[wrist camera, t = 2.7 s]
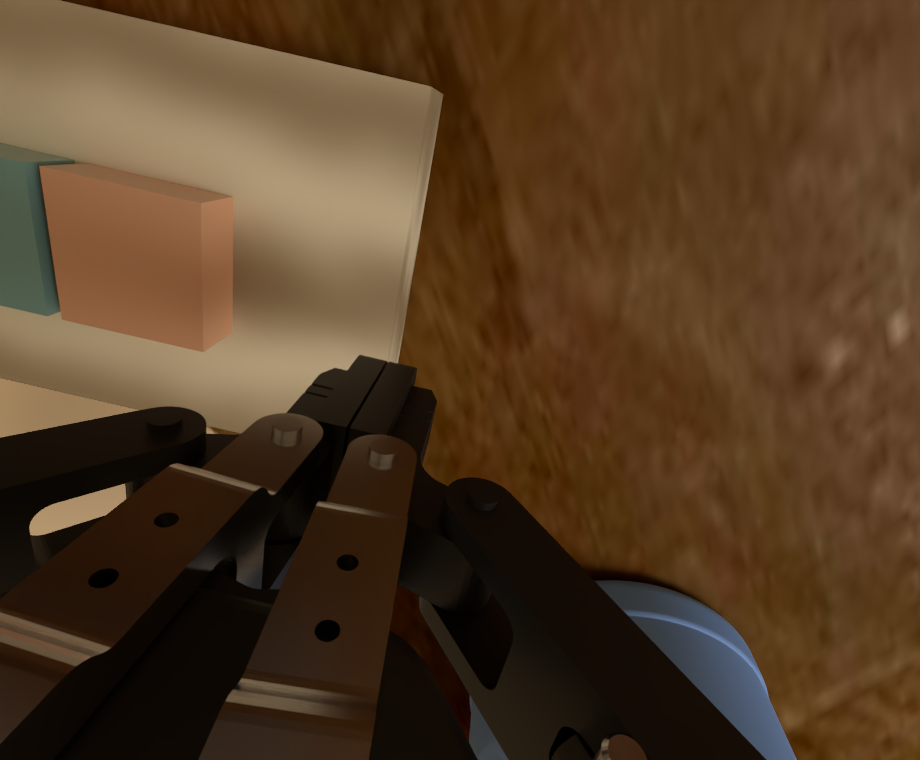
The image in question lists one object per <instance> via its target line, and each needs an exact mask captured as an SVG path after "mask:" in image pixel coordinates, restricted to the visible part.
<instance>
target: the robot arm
mask: <svg viewBox="0 0 920 760" xmlns="http://www.w3.org/2000/svg"><path fill="white" fill-rule="evenodd" d="M416 372H417V368H415V367H411V366H406V365H402V364H398V363H394V362H388V361H385V360H381V359H376V358H372V357H368V356H364V355H359V356H358V357H357V358H356V360H355V361H354V362H353V364H352V365H351V366H350V367H349V369H348V370H343V369H338V368H333V369H331V370H328V371H326V372H323V373H321V374H319V376H318V377H317V378H316V379H315V380H314V381H313V383H312V385H310V386H309V387H308V388H307V389H306V391H305V393H303V394H302V395H301V396H300V398H299V399H298V400H297V401H296V402H295V403H294V404H293V406H292V407H291V408H290V409H289V410H288V411H287V412H286V413H278V414H272V415H267V416H265V417H262V418H260V419H258V420H257V421H255V422H254V423H253V424H252V425H251V426H250V427H248V428H247V429H246V430H245V431H244V432H243V433H241V434H240V435H226V434H206V420H205V418H204V417H203V416H202V415H201V414H199V413H198V412H196V411H193V410H191V409H187V408H182V407H173V406H164V407H155V408H149V409H144V410H139V411H134V412H129V413H124V414H119V415H114V416H109V417H104V418H98V419H94V420H88V421H83V422H79V423H73V424H68V425H63V426H58V427H53V428H48V429H43V430H37V431H32V432H27V433H23V434H17V435H12V436H7V437H2V438H0V760H478V759H477V757H476V755H475V753H474V751H473V749H472V747H471V745H470V743H469V741H468V740H467V738H466V736H465V734H464V732H463V730H462V728H461V726H460V724H459V722H458V720H457V718H456V716H455V714H454V712H453V710H452V708H451V706H450V705H449V703H448V701H447V699H446V697H445V695H444V693H443V691H442V689H441V687H440V685H439V683H438V681H437V680H436V678H435V676H434V674H433V673H432V672H431V670H430V669H429V667H428V666H427V664H426V663H425V662H424V660H423V659H422V658H421V657H420V656H419V655H418V653H417V652H416V651H415V650H414V649H413V648H412V647H411V646H410V645H409V644H407V643H406V642H405V641H404V640H403V639H402V638H400V637H399V636H397V635H396V634H395V633H393V632H392V631H390V630H389V629H390V623H391V617H392V611H393V605H394V600H395V594H396V588H397V584H399V585H401V586H402V587H404V588H406V589H408V590H409V591H411V592H413V593H415V594H416V595H418V596H420V597H419V608H420V612H421V614H422V616H423V617H424V619H425V621H426V623H427V624H428V626H429V628H430V629H431V631H432V633H433V634H434V636H435V638H436V639H437V641H438V643H439V644H440V646H441V648H442V649H443V651H444V653H445V654H446V656H447V658H448V659H449V661H450V663H451V664H452V666H453V668H454V669H455V671H456V673H457V674H458V676H459V678H460V679H461V681H462V683H463V684H464V686H465V688H466V689H467V691H468V693H469V694H470V696H471V698H472V699H473V701H474V703H475V705H476V706H477V708H478V710H479V711H480V713H481V715H482V716H483V718H484V720H485V721H486V723H487V725H488V726H489V728H490V730H491V731H492V733H493V735H494V736H495V738H496V740H497V741H498V743H499V745H500V746H501V748H502V750H503V751H504V753H505V755H506V756H507V758H508V760H766V759H765V758H764V757H763V756H762V755H761V753H760V752H759V751H758V750H757V749H756V748H755V747H754V746H753V745H752V744H751V743H750V742H749V741H748V740H747V739H746V738H745V737H744V736H743V735H742V734H741V733H740V732H739V731H738V730H737V729H736V727H735V726H734V725H733V724H732V723H731V722H730V721H729V720H728V719H727V718H726V717H725V716H724V715H723V714H722V713H721V712H720V711H719V710H718V709H717V708H716V707H715V706H714V705H713V704H712V703H711V701H710V700H709V699H708V698H707V697H706V696H705V695H704V694H703V693H702V692H701V691H700V690H699V689H698V688H697V687H696V686H695V685H694V684H693V683H692V682H691V681H690V680H689V679H688V678H687V677H686V675H685V674H684V673H683V672H682V671H681V670H680V669H679V668H678V667H677V666H676V665H675V664H674V663H673V662H672V661H671V660H670V659H669V658H668V657H667V656H666V655H665V654H664V653H663V652H662V651H661V649H660V648H659V647H658V646H657V645H656V644H655V643H654V642H653V641H652V640H651V639H650V638H649V637H648V636H647V635H646V634H645V633H644V632H643V631H642V630H641V629H640V628H639V627H638V626H637V625H636V623H635V622H634V621H633V620H632V619H631V618H630V617H629V616H628V615H627V614H626V613H625V612H624V611H623V610H622V609H621V608H620V607H619V606H618V605H617V604H616V603H615V602H614V601H613V600H612V599H611V597H610V596H609V595H608V594H607V593H606V592H605V591H604V590H603V589H602V588H601V587H600V586H599V585H598V584H597V583H596V582H595V581H594V580H593V579H592V578H591V577H590V576H589V575H588V574H587V573H586V571H585V570H584V569H583V568H582V567H581V566H580V565H579V564H578V563H577V562H576V561H575V560H574V559H573V558H572V557H571V556H570V555H569V554H568V553H567V552H566V551H565V550H564V549H563V548H562V547H561V545H560V544H559V543H558V542H557V541H556V540H555V539H554V538H553V537H552V536H551V535H550V534H549V533H548V532H547V531H546V530H545V529H544V528H543V527H542V526H541V525H540V524H539V523H538V522H537V521H536V519H535V518H534V517H533V516H532V515H531V514H530V513H529V512H528V511H527V510H526V509H525V508H524V507H523V506H522V505H521V504H520V503H519V502H518V501H517V500H516V499H515V498H514V497H513V496H512V495H511V493H509V492H508V491H507V490H506V489H505V488H503V487H502V486H500V485H498V484H496V483H494V482H492V481H489V480H486V479H481V478H462V479H458V480H456V481H454V482H452V483H451V484H450V485H449V486H446V485H444V484H442V483H440V482H438V481H436V480H435V479H434V478H432V477H431V476H430V475H429V474H428V473H427V472H426V471H425V470H424V468H423V467H422V463H423V460H424V456H425V453H426V449H427V444H428V440H429V435H430V431H431V426H432V422H433V417H434V413H435V408H436V403H437V400H436V398H435V396H434V394H433V392H432V390H428V389H424V388H420V387H415V386H414V384H415V379H416ZM121 484H125V486H126V498H127V499H126V500H125V501H124V502H122V503H121V504H120V505H118V506H117V507H116V508H115V509H113V510H112V511H111V512H110V513H108V514H107V515H106V516H102V517H99V518H96V519H93V520H90V521H86V522H83V523H80V524H77V525H74V526H71V527H68V528H64V529H61V530H58V531H55V532H52V533H48V534H45V535H40V536H32V535H30V532H29V525H30V522H31V520H32V518H33V517H34V516H35V515H36V514H37V513H38V512H39V511H40V510H42V509H43V508H45V507H47V506H49V505H51V504H54V503H57V502H61V501H65V500H68V499H72V498H75V497H79V496H82V495H86V494H89V493H93V492H96V491H100V490H103V489H107V488H110V487H114V486H117V485H121Z"/></svg>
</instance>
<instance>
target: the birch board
mask: <svg viewBox="0 0 920 760" xmlns="http://www.w3.org/2000/svg"><path fill="white" fill-rule="evenodd" d="M442 99H443V94H442V93H440V92H439V91H437V90H435V89H434V88H432V87H431V86H427V85H422V84H418V83H414V82H409V81H405V80H401V79H396V78H392V77H388V76H384V75H379V74H375V73H371V72H366V71H362V70H358V69H353V68H349V67H345V66H340V65H336V64H332V63H328V62H323V61H319V60H315V59H310V58H306V57H302V56H297V55H293V54H289V53H284V52H280V51H276V50H272V49H267V48H263V47H259V46H254V45H250V44H246V43H241V42H237V41H233V40H229V39H224V38H220V37H216V36H211V35H207V34H203V33H198V32H194V31H190V30H185V29H181V28H177V27H173V26H168V25H164V24H160V23H155V22H151V21H147V20H142V19H138V18H134V17H129V16H125V15H121V14H117V13H112V12H108V11H104V10H99V9H95V8H91V7H86V6H82V5H78V4H74V3H69V2H65V1H61V0H0V143H4V144H8V145H13V146H17V147H21V148H26V149H30V150H34V151H39V152H43V153H47V154H52V155H56V156H60V157H65V158H69V159H73V160H75V164H82V163H91V164H95V165H99V166H104V167H108V168H112V169H116V170H121V171H125V172H129V173H134V174H138V175H142V176H147V177H151V178H155V179H160V180H164V181H168V182H173V183H177V184H181V185H186V186H190V187H194V188H199V189H203V190H207V191H212V192H216V193H220V194H225V195H229V196H233V197H234V209H233V313H232V333H231V334H229V335H228V336H227V337H225V338H224V339H222V340H221V341H219V342H218V343H216V344H215V345H213V346H212V347H210V348H209V349H208V350H206V351H205V352H200V351H196V350H191V349H187V348H183V347H178V346H174V345H170V344H165V343H161V342H157V341H152V340H148V339H143V338H139V337H135V336H130V335H126V334H122V333H117V332H113V331H109V330H104V329H100V328H96V327H91V326H87V325H83V324H78V323H74V322H70V321H65V320H62V317H61V312H58V313H55V314H53V315H50V316H44V315H39V314H35V313H31V312H26V311H22V310H18V309H13V308H9V307H5V306H0V378H3V379H7V380H11V381H15V382H20V383H24V384H29V385H33V386H37V387H42V388H46V389H50V390H55V391H59V392H63V393H68V394H72V395H76V396H81V397H85V398H89V399H94V400H98V401H103V402H107V403H111V404H116V405H120V406H124V407H128V408H133V409H137V410H144V409H149V408H155V407H164V406H173V407H182V408H187V409H191V410H193V411H196V412H198V413H199V414H201V415H202V416H203V417H204V418H205V420H206V425H207V426H211V427H215V428H220V429H224V430H228V431H233V432H237V433H243V432H244V431H245V430H246V429H247V428H248V427H250V426H251V425H252V424H253V423H254V422H255V421H257V420H258V419H260V418H262V417H265V416H267V415H272V414H278V413H286V412H287V411H288V410H289V409H290V408H291V407H292V406H293V404H294V403H295V402H296V401H297V400H298V399H299V398H300V396H301V395H302V394H303V393H305V391H306V389H307V388H308V387H309V386H310V385H312V383H313V381H314V380H315V379H316V378H317V377H318V376H319V374H321V373H323V372H326V371H328V370H331V369H333V368H338V369H343V370H348V369H349V367H350V366H351V365H352V364H353V362H354V361H355V360H356V358H357V357H358V356H359V355H364V356H368V357H372V358H376V359H381V360H385V361H388V362H394V363H398V359H399V354H400V348H401V342H402V336H403V330H404V324H405V318H406V312H407V306H408V300H409V294H410V288H411V282H412V277H413V271H414V265H415V259H416V253H417V247H418V241H419V235H420V229H421V223H422V217H423V211H424V205H425V199H426V194H427V188H428V182H429V176H430V170H431V164H432V158H433V152H434V146H435V140H436V134H437V128H438V122H439V116H440V111H441V105H442Z"/></svg>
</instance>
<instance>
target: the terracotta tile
mask: <svg viewBox="0 0 920 760" xmlns="http://www.w3.org/2000/svg"><path fill="white" fill-rule="evenodd" d="M39 168H40V175H41V182H42V188H43V195H44V202H45V209H46V216H47V222H48V229H49V236H50V243H51V249H52V256H53V263H54V270H55V277H56V283H57V290H58V297H59V304H60V311H61V317H62V320H65V321H70V322H74V323H78V324H83V325H87V326H91V327H96V328H100V329H104V330H109V331H113V332H117V333H122V334H126V335H130V336H135V337H139V338H143V339H148V340H152V341H157V342H161V343H165V344H170V345H174V346H178V347H183V348H187V349H191V350H196V351H200V352H205V351H206V350H208V349H209V348H210V347H212V346H213V345H215V344H216V343H218V342H219V341H221V340H222V339H224V338H225V337H227V336H228V335H229V334H231V333H232V313H233V209H234V197H233V196H229V195H225V194H220V193H216V192H212V191H207V190H203V189H199V188H194V187H190V186H186V185H181V184H177V183H173V182H168V181H164V180H160V179H155V178H151V177H147V176H142V175H138V174H134V173H129V172H125V171H121V170H116V169H112V168H108V167H104V166H99V165H95V164H91V163H82V164H64V165H46V166H39Z"/></svg>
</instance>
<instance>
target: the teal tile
mask: <svg viewBox="0 0 920 760" xmlns="http://www.w3.org/2000/svg"><path fill="white" fill-rule="evenodd" d="M64 164H75V160H73V159H69V158H65V157H60V156H56V155H52V154H47V153H43V152H39V151H34V150H30V149H26V148H21V147H17V146H13V145H8V144H4V143H0V306H5V307H9V308H13V309H18V310H22V311H26V312H31V313H35V314H39V315H44V316H50V315H53V314H55V313H58V312H61V311H60V304H59V297H58V290H57V283H56V277H55V270H54V263H53V256H52V249H51V243H50V236H49V229H48V222H47V216H46V209H45V202H44V195H43V188H42V182H41V175H40V168H39V166H46V165H64Z"/></svg>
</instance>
